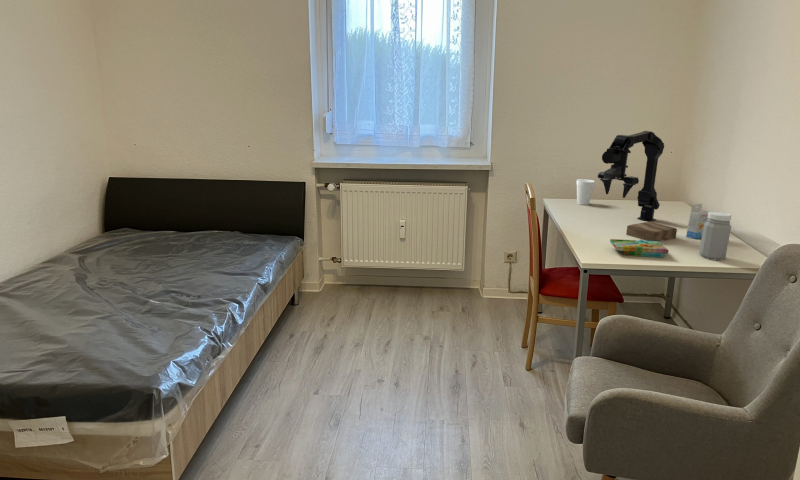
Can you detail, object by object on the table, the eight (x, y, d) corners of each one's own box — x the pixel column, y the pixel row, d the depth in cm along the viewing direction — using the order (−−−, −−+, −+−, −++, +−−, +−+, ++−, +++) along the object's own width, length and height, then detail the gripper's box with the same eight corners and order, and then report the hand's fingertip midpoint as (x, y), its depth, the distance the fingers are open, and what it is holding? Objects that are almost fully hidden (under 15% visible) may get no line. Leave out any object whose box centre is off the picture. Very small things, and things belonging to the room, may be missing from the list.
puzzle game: (669, 247, 240) (616, 244, 242) (667, 259, 241) (615, 256, 243) (660, 240, 251) (610, 237, 253) (658, 250, 252) (608, 247, 254)
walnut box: (648, 231, 284) (650, 221, 282) (675, 239, 272) (677, 228, 271) (626, 235, 275) (627, 224, 274) (653, 243, 264) (654, 232, 262)
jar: (696, 252, 251) (704, 209, 246) (722, 255, 248) (730, 212, 243) (700, 259, 242) (708, 215, 237) (727, 262, 239) (736, 217, 234)
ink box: (696, 239, 271) (701, 207, 267) (685, 236, 275) (691, 204, 271) (706, 237, 276) (712, 205, 272) (696, 234, 280) (701, 203, 276)
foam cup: (571, 203, 336) (574, 180, 333) (577, 201, 343) (580, 178, 340) (588, 206, 331) (591, 182, 327) (594, 203, 338) (597, 180, 335)
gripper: (592, 160, 285) (587, 193, 289) (626, 166, 270) (621, 201, 274) (607, 159, 291) (602, 192, 295) (641, 165, 276) (636, 199, 280)
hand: (615, 196), depth 286 cm, fingers open, 9 cm apart
